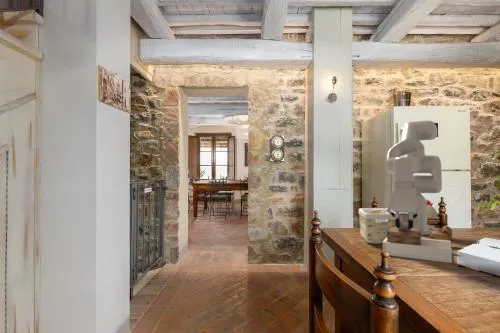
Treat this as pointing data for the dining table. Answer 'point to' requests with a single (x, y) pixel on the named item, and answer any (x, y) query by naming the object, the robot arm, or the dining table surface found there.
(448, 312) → the dining table surface
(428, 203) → the kitchen timer
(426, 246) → the bay
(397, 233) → the tan block with peg
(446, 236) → the lion figurine
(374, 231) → the storage basket
